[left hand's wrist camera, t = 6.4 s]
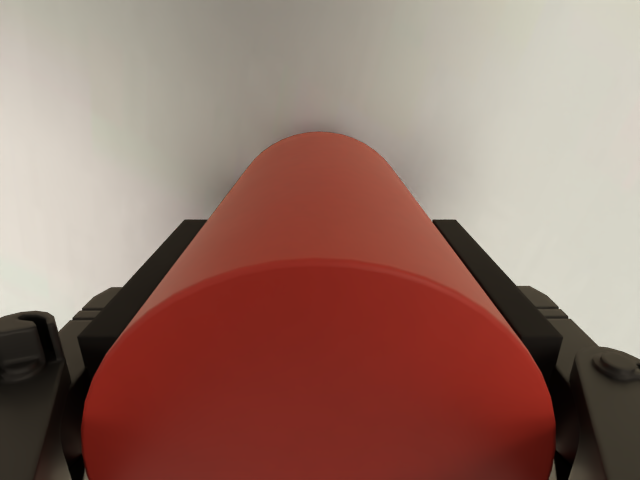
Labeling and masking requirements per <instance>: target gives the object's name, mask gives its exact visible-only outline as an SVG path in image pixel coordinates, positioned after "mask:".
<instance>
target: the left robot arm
mask: <svg viewBox="0 0 640 480" xmlns="http://www.w3.org/2000/svg"><path fill="white" fill-rule="evenodd" d="M206 222H207V220H184V221H183V222H182V223H181V224H180V225H179V226H178V227H177V229H176V230H175V231H174V232H173V233H172V234H171V235H170V236H169V237H168V238H167V239H166V241H165V242H164V243H163V244H162V245H161V246H160V247H159V248H158V249H157V250H156V251H155V253H154V254H153V255H152V256H151V257H150V258H149V259H148V260H147V261H146V262H145V263H144V265H143V266H142V267H141V268H140V269H139V270H138V271H137V272H136V273H135V274H134V275H133V276H132V278H131V279H130V280H129V281H128V282H127V283H126V284H125V285H124V286H123V287H111V288H109V289H107V290H105V291H104V292H102V293H100V294H98V295H96V296H95V297H93V298H92V299H91V300H90V301H89V302H88V303H87V304H86V305H85V306H84V307H83V308H82V311H79V312H78V313H77V314H76V315H75V316H74V317H73V320H70V321H69V322H68V323H67V324H66V325H65V326H64V327H63V328H62V329H61V330H60V331H59V332H58V329H57V326H56V322H55V319H54V316H52V315H51V314H49V313H48V312H41V311H28V312H19V313H15V314H11V315H7V316H4V317H1V318H0V480H88V477H87V474H86V470H85V465H84V461H83V456H82V447H81V424H82V417H83V410H84V403H85V399H86V396H87V393H88V391H89V388H90V385H91V382H92V379H93V376H94V375H95V373H96V371H97V369H98V367H99V366H100V364H101V362H102V360H103V358H104V357H105V355H106V353H107V352H108V351H109V349H110V348H111V347H112V345H113V344H114V343H115V341H116V340H117V339H118V338H119V336H120V335H121V334H122V332H123V331H124V330H125V328H126V327H127V326H128V324H129V323H130V322H131V320H132V319H133V318H134V316H135V315H136V314H137V313H138V311H139V310H140V309H141V307H142V306H143V305H144V303H145V302H146V301H147V299H148V298H149V297H150V295H151V294H152V293H153V291H154V290H155V289H156V288H157V286H158V285H159V284H160V282H161V281H162V280H163V278H164V277H165V276H166V274H167V273H168V272H169V270H170V269H171V268H172V266H173V265H174V264H175V262H176V261H177V260H178V259H179V257H180V256H181V255H182V253H183V252H184V251H185V249H186V248H187V247H188V245H189V244H190V243H191V241H192V240H193V239H194V237H195V236H196V235H197V234H198V232H199V231H200V230H201V228H202V227H203V226H204V224H205V223H206ZM432 222H433V224H434V225H435V227H436V228H437V229H438V231H439V232H440V233H441V235H442V236H443V237H444V239H445V240H446V241H447V243H448V244H449V245H450V247H451V248H452V249H453V251H454V252H455V253H456V255H457V256H458V257H459V259H460V260H461V261H462V263H463V264H464V265H465V267H466V268H467V269H468V271H469V272H470V273H471V275H472V276H473V277H474V279H475V280H476V281H477V283H478V284H479V285H480V287H481V288H482V289H483V291H484V292H485V293H486V295H487V296H488V297H489V299H490V300H491V301H492V303H493V304H494V305H495V307H496V308H497V309H498V311H499V312H500V313H501V315H502V316H503V317H504V319H505V320H506V321H507V323H508V324H509V325H510V327H511V328H512V329H513V331H514V332H515V333H516V335H517V336H518V337H519V339H520V340H521V341H522V343H523V344H524V345H525V347H526V348H527V349H528V351H529V353H530V354H531V356H532V358H533V359H534V361H535V363H536V364H537V366H538V368H539V369H540V371H541V373H542V375H543V378H544V380H545V383H546V385H547V388H548V391H549V393H550V396H551V400H552V406H553V411H554V416H555V422H556V449H555V455H554V461H553V466H552V471H551V474H550V477H549V480H640V359H638V358H636V357H634V356H631V355H629V354H627V353H625V352H622V351H618V350H615V349H611V348H608V347H599V346H598V345H597V344H596V343H595V342H594V341H593V340H592V339H591V338H590V337H589V336H588V335H587V334H586V333H585V332H583V331H582V330H581V329H580V328H579V327H578V326H577V325H576V324H575V323H574V322H573V321H572V320H571V319H568V316H567V315H566V314H565V313H564V312H563V311H562V310H561V309H559V307H558V306H557V305H556V304H555V303H554V302H553V301H552V300H551V299H550V298H549V297H548V296H547V295H545V294H543V293H541V292H540V291H538V290H536V289H534V288H532V287H530V286H516V285H515V284H514V283H513V282H512V281H511V279H510V278H509V277H508V276H507V275H506V274H505V273H504V272H503V271H502V270H501V269H500V267H499V266H498V265H497V264H496V263H495V262H494V261H493V260H492V259H491V258H490V257H489V255H488V254H487V253H486V252H485V251H484V250H483V249H482V248H481V247H480V246H479V245H478V244H477V242H476V241H475V240H474V239H473V238H472V237H471V236H470V235H469V234H468V233H467V232H466V230H465V229H464V228H463V227H462V226H461V225H460V224H459V223H458V222H457V221H456V220H433V221H432Z"/></svg>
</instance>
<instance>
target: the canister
mask: <svg viewBox="0 0 640 480" xmlns="http://www.w3.org/2000/svg"><path fill="white" fill-rule="evenodd" d="M81 447H82V456H83V461H84V465H85V470H86V474H87V477H88V480H549V477H550V474H551V471H552V466H553V461H554V455H555V449H556V422H555V416H554V411H553V406H552V400H551V396H550V393H549V391H548V388H547V385H546V383H545V380H544V378H543V375H542V373H541V371H540V369H539V368H538V366H537V364H536V363H535V361H534V359H533V358H532V356H531V354H530V353H529V351H528V349H527V348H526V347H525V345H524V344H523V343H522V341H521V340H520V339H519V337H518V336H517V335H516V333H515V332H514V331H513V329H512V328H511V327H510V325H509V324H508V323H507V321H506V320H505V319H504V317H503V316H502V315H501V313H500V312H499V311H498V309H497V308H496V307H495V305H494V304H493V303H492V301H491V300H490V299H489V297H488V296H487V295H486V293H485V292H484V291H483V289H482V288H481V287H480V285H479V284H478V283H477V281H476V280H475V279H474V277H473V276H472V275H471V273H470V272H469V271H468V269H467V268H466V267H465V265H464V264H463V263H462V261H461V260H460V259H459V257H458V256H457V255H456V253H455V252H454V251H453V249H452V248H451V247H450V245H449V244H448V243H447V241H446V240H445V239H444V237H443V236H442V235H441V233H440V232H439V231H438V229H437V228H436V227H435V225H434V224H433V222H432V221H431V220H430V218H429V217H428V216H427V214H426V213H425V212H424V210H423V209H422V208H421V206H420V205H419V204H418V202H417V201H416V200H415V198H414V197H413V196H412V194H411V193H410V192H409V190H408V189H407V188H406V186H405V185H404V184H403V182H402V181H401V180H400V178H399V177H398V176H397V174H396V173H395V172H394V170H393V169H392V168H391V166H390V165H389V164H388V163H387V162H386V161H385V159H384V158H383V157H382V156H380V155H379V154H378V153H377V152H376V151H375V150H373V149H372V148H370V147H369V146H367V145H366V144H364V143H362V142H360V141H358V140H356V139H354V138H351V137H348V136H345V135H342V134H336V133H331V132H309V133H302V134H298V135H293V136H291V137H288V138H285V139H282V140H281V141H279V142H277V143H275V144H273V145H271V146H270V147H268V148H267V149H266V150H264V151H263V152H262V153H261V154H260V155H258V156H257V157H256V158H255V159H254V160H253V161H252V163H251V164H250V165H249V167H248V168H247V169H246V170H245V172H244V173H243V174H242V176H241V177H240V178H239V180H238V181H237V182H236V184H235V185H234V186H233V187H232V189H231V190H230V191H229V193H228V194H227V195H226V197H225V198H224V199H223V201H222V202H221V203H220V205H219V206H218V207H217V209H216V210H215V211H214V212H213V214H212V215H211V216H210V218H209V219H208V220H207V222H206V223H205V224H204V226H203V227H202V228H201V230H200V231H199V232H198V234H197V235H196V236H195V237H194V239H193V240H192V241H191V243H190V244H189V245H188V247H187V248H186V249H185V251H184V252H183V253H182V255H181V256H180V257H179V259H178V260H177V261H176V262H175V264H174V265H173V266H172V268H171V269H170V270H169V272H168V273H167V274H166V276H165V277H164V278H163V280H162V281H161V282H160V284H159V285H158V286H157V288H156V289H155V290H154V291H153V293H152V294H151V295H150V297H149V298H148V299H147V301H146V302H145V303H144V305H143V306H142V307H141V309H140V310H139V311H138V313H137V314H136V315H135V316H134V318H133V319H132V320H131V322H130V323H129V324H128V326H127V327H126V328H125V330H124V331H123V332H122V334H121V335H120V336H119V338H118V339H117V340H116V341H115V343H114V344H113V345H112V347H111V348H110V349H109V351H108V352H107V353H106V355H105V357H104V358H103V360H102V362H101V364H100V366H99V367H98V369H97V371H96V373H95V375H94V376H93V379H92V382H91V385H90V388H89V391H88V393H87V396H86V399H85V403H84V410H83V417H82V424H81Z"/></svg>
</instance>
